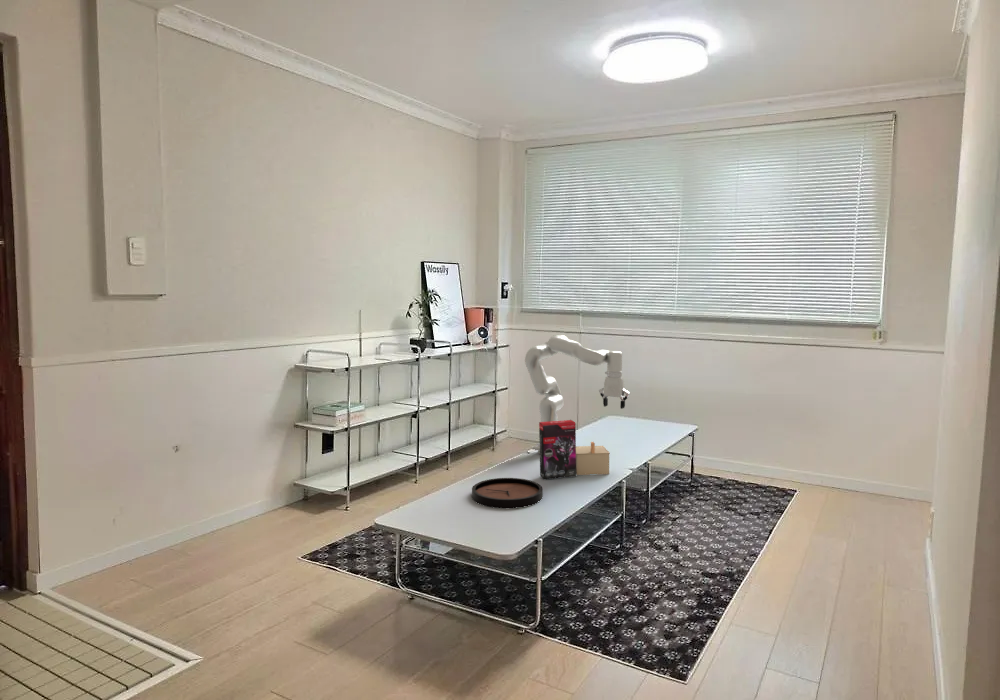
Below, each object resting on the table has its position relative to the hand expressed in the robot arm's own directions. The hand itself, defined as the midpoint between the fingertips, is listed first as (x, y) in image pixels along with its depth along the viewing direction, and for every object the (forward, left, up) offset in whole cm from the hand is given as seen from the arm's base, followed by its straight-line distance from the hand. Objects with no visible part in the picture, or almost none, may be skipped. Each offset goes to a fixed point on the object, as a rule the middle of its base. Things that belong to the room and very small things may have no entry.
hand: (613, 407), depth 353 cm
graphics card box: (-34, -25, -29) cm, 51 cm away
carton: (-16, -16, -29) cm, 36 cm away
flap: (-16, -16, -19) cm, 29 cm away
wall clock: (-61, -51, -29) cm, 85 cm away
